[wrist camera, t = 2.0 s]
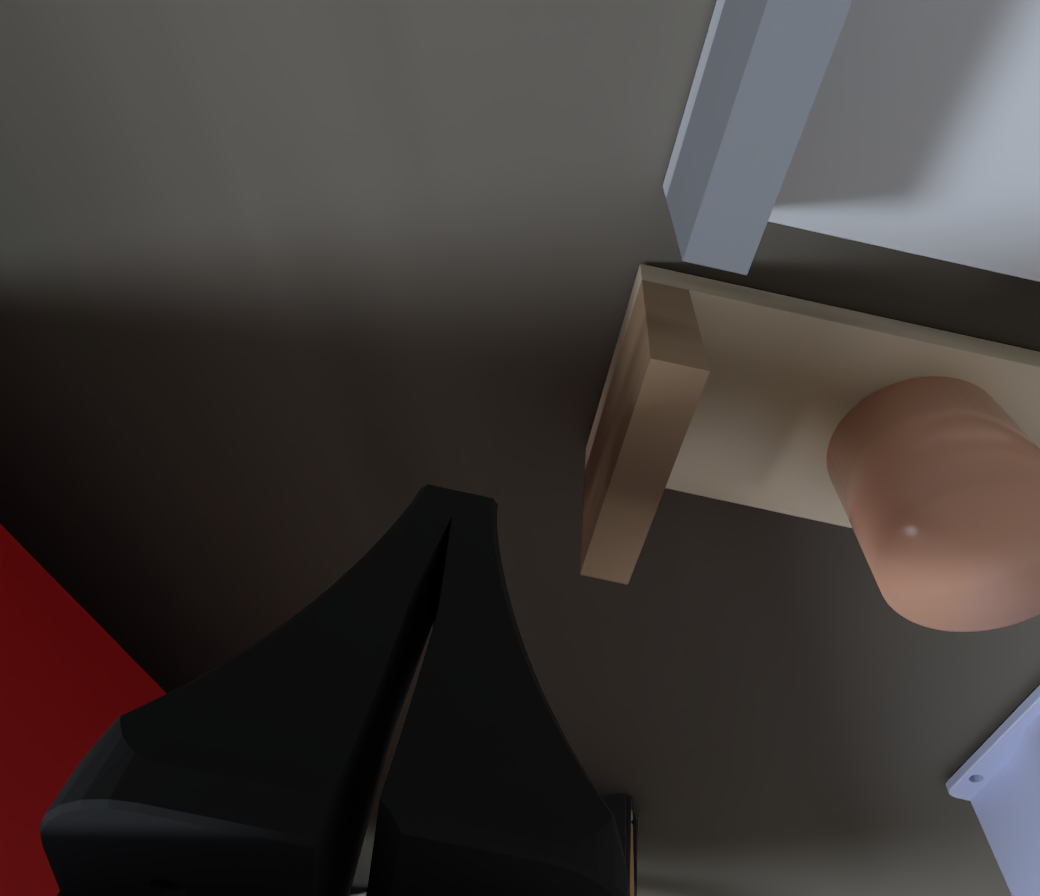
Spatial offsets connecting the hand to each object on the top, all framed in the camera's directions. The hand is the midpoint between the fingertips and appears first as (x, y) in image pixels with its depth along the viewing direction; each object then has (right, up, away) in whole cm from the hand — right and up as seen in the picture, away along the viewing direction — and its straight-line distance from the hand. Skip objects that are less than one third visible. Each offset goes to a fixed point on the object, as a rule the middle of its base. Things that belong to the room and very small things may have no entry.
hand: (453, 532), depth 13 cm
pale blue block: (+11, +9, +3) cm, 15 cm away
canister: (+12, +2, +6) cm, 14 cm away
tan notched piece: (+10, +3, +7) cm, 12 cm away
